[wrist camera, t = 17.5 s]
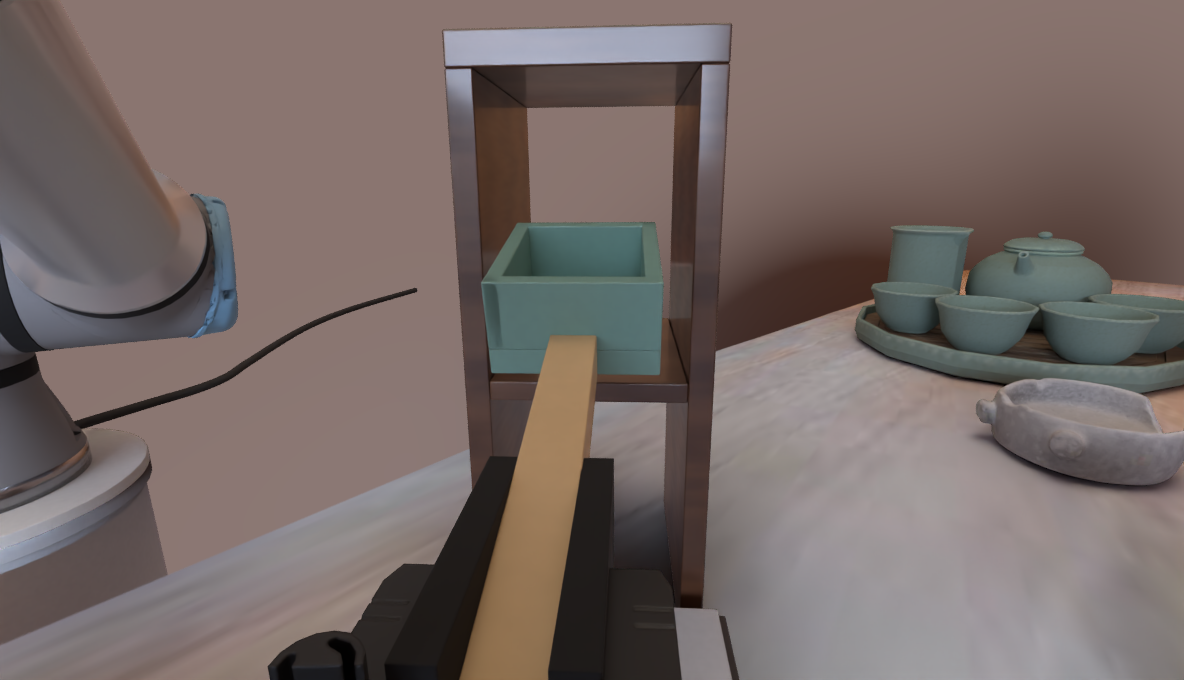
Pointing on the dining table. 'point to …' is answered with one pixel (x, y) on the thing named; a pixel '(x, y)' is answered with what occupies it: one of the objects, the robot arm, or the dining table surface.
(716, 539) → the dining table surface
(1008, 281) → the tea set
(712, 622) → the whiteboard
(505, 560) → the scoop
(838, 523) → the dining table surface
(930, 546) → the dining table surface
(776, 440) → the dining table surface
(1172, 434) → the dish
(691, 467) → the shelf
